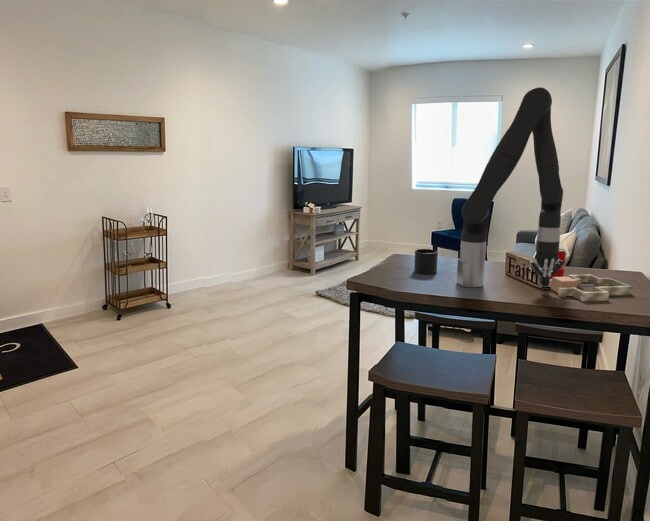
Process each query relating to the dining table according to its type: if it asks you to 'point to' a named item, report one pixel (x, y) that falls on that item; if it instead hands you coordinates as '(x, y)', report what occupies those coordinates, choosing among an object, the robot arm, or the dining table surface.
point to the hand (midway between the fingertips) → (544, 286)
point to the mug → (425, 261)
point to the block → (562, 283)
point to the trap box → (595, 288)
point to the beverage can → (562, 258)
